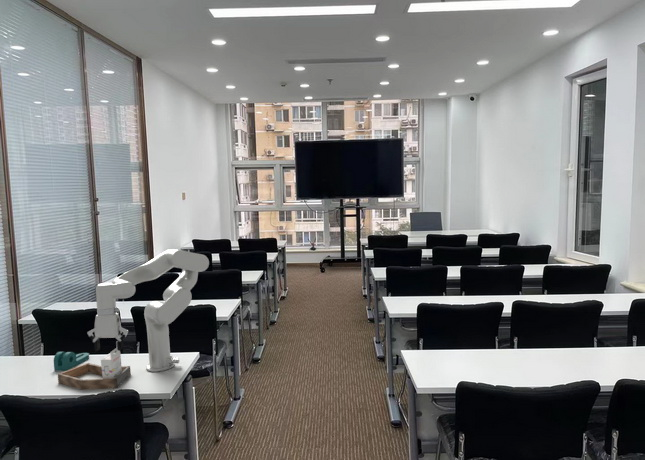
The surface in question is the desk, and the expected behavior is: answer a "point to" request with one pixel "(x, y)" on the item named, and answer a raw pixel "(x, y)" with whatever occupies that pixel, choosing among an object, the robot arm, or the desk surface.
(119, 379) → the brown angled open frame
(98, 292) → the robot arm
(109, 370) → the ink cartridge box
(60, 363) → the bracket
